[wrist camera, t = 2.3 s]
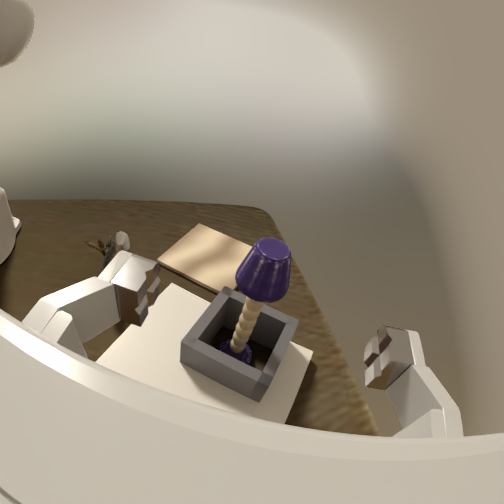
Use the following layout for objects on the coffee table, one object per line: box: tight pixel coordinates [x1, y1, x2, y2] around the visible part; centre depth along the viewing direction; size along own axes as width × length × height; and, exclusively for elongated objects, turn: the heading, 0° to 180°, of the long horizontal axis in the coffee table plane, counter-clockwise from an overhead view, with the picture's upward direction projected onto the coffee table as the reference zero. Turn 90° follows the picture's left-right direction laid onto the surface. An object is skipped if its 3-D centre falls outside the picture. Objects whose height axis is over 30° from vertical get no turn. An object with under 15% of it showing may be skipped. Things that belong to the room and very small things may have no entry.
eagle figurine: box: [84, 232, 130, 271], centre depth 37 cm, size 8×7×9 cm
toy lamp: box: [217, 238, 291, 365], centre depth 29 cm, size 5×5×17 cm
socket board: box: [95, 283, 313, 424], centre depth 29 cm, size 20×18×6 cm
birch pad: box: [157, 224, 252, 294], centre depth 47 cm, size 12×12×1 cm
